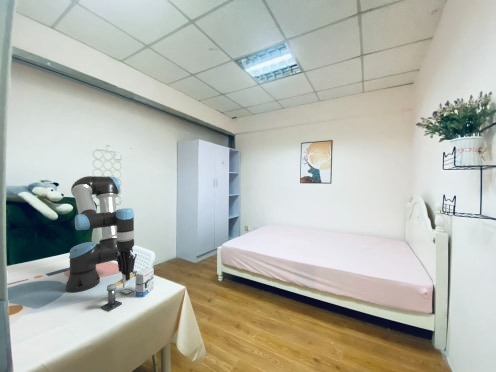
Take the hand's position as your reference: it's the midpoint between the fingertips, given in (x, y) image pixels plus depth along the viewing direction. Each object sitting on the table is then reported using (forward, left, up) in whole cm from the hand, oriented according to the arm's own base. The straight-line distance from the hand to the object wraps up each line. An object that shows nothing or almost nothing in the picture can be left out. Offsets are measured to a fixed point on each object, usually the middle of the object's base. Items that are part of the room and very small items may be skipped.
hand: (126, 286), depth 103 cm
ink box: (+3, +8, -7) cm, 11 cm away
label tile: (-6, +4, -6) cm, 9 cm away
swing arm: (-2, 0, +2) cm, 2 cm away
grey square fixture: (-1, -7, -6) cm, 10 cm away
